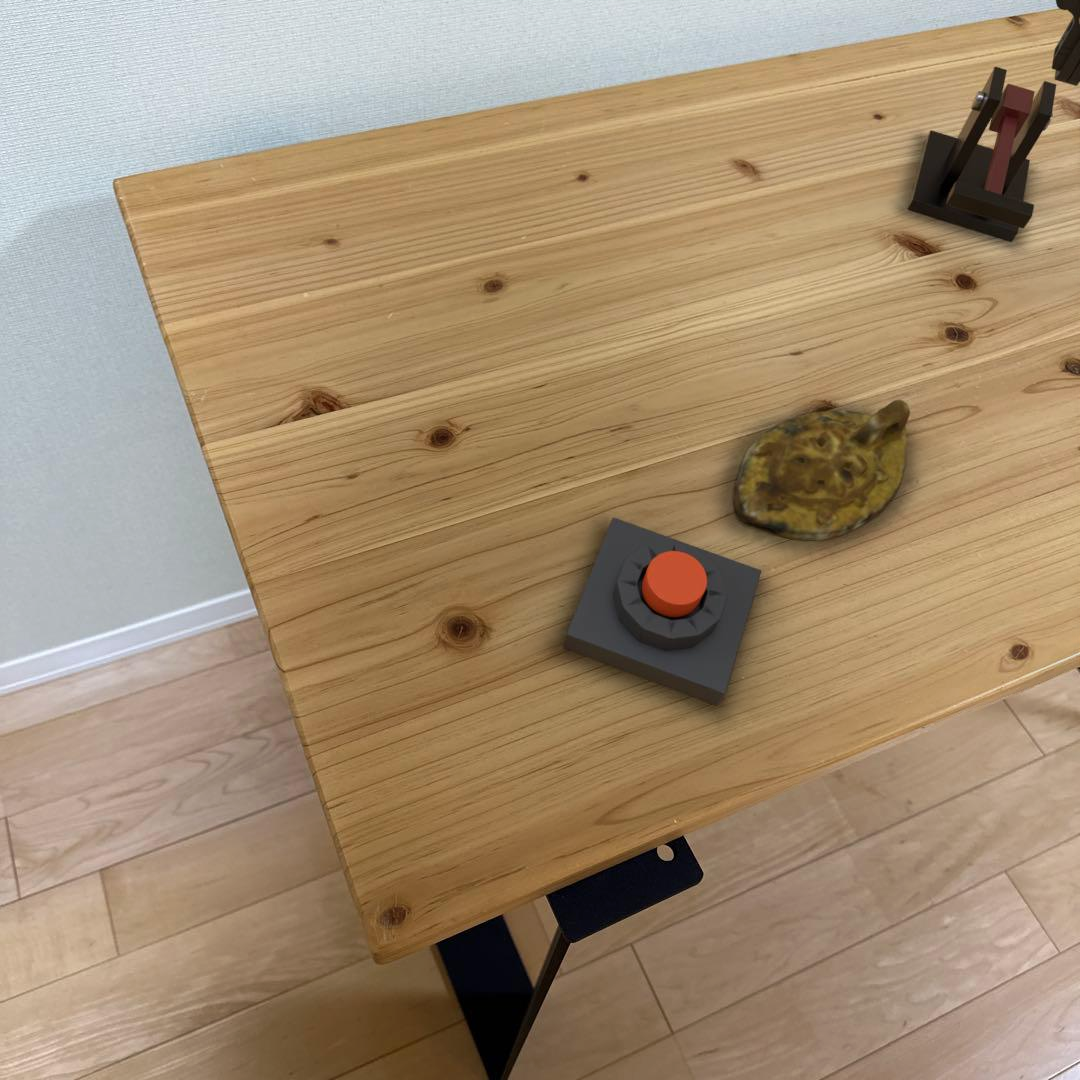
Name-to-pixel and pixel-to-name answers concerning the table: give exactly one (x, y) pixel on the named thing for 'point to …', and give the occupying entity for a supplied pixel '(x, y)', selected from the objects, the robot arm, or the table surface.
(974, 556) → the table surface
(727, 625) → the button box
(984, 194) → the dark red t-shaped bar
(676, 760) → the table surface
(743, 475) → the olive oval piece
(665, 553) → the button
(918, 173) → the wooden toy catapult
